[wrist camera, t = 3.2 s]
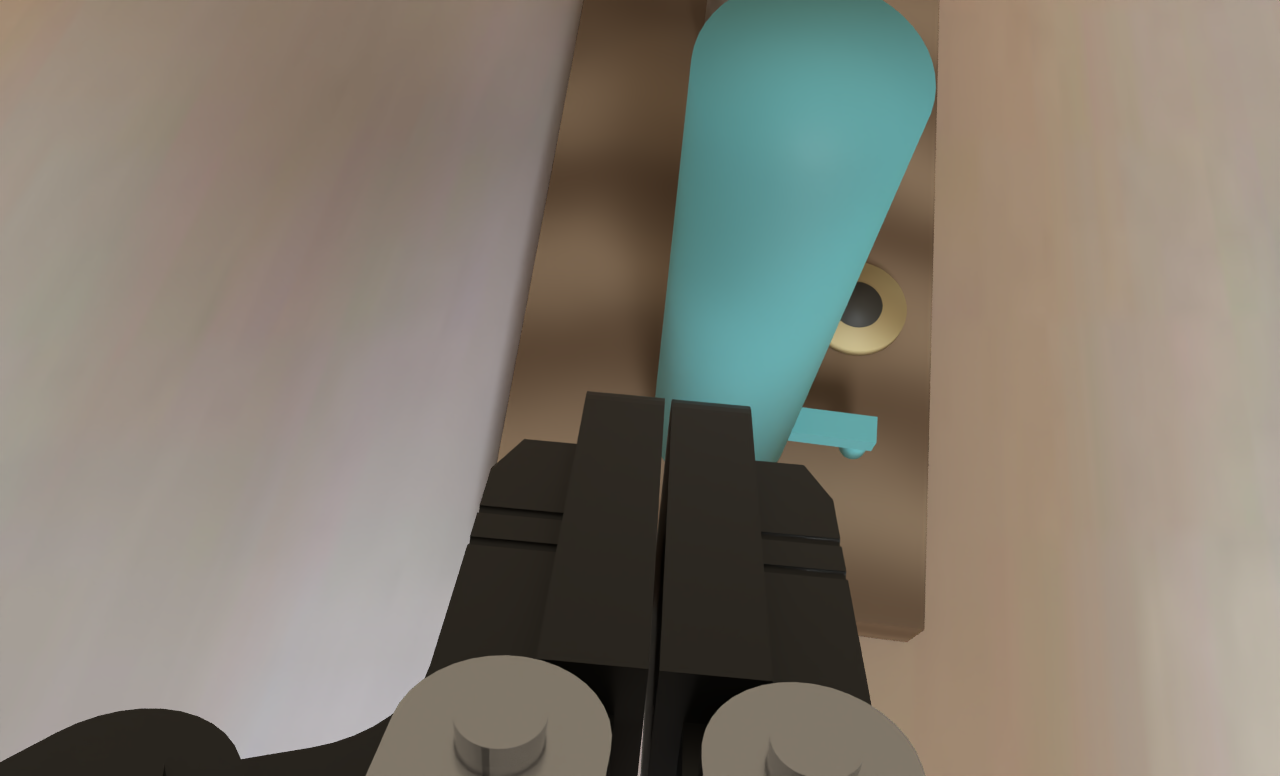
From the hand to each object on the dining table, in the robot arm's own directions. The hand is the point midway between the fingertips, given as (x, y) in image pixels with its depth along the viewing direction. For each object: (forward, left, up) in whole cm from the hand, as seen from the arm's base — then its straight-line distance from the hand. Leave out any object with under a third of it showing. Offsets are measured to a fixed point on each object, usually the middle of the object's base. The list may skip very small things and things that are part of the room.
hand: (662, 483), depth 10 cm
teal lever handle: (-3, +9, -21) cm, 23 cm away
